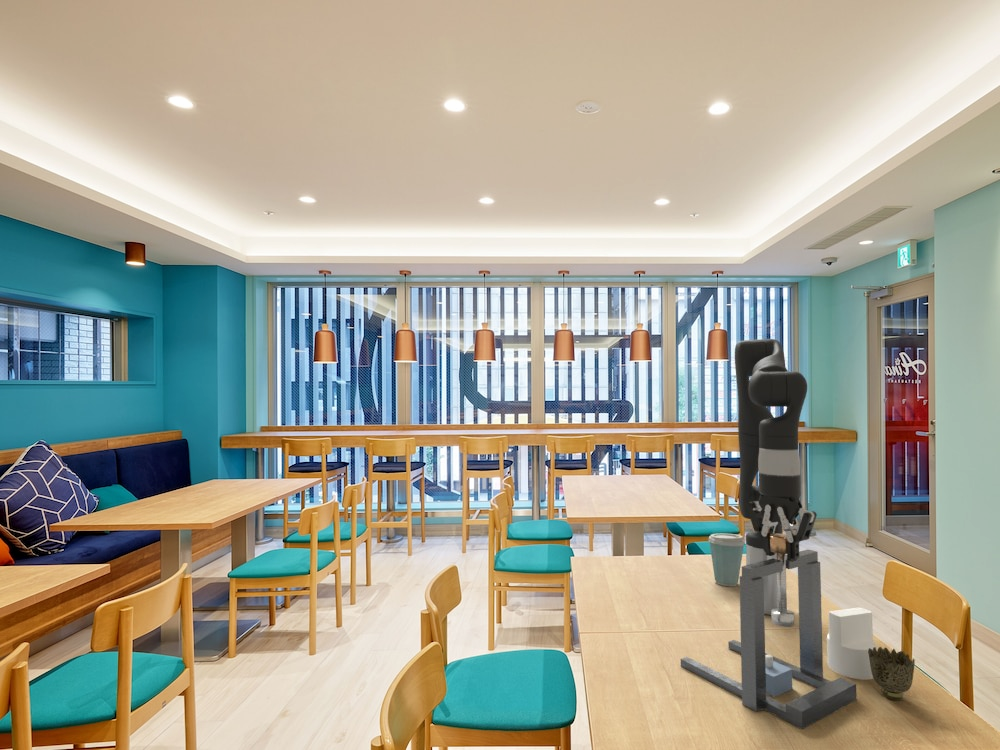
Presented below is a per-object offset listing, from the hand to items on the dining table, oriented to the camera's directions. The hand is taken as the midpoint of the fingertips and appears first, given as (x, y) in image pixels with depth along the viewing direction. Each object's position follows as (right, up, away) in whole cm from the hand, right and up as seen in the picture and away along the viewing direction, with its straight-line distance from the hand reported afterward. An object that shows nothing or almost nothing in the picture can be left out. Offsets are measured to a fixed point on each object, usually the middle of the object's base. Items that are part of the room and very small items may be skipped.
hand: (781, 557), depth 112 cm
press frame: (-2, -26, +3) cm, 27 cm away
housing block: (-2, -27, +1) cm, 27 cm away
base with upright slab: (+19, -27, +8) cm, 34 cm away
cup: (+20, -26, -3) cm, 33 cm away
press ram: (0, -13, 0) cm, 13 cm away
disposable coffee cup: (+15, -28, +62) cm, 70 cm away
